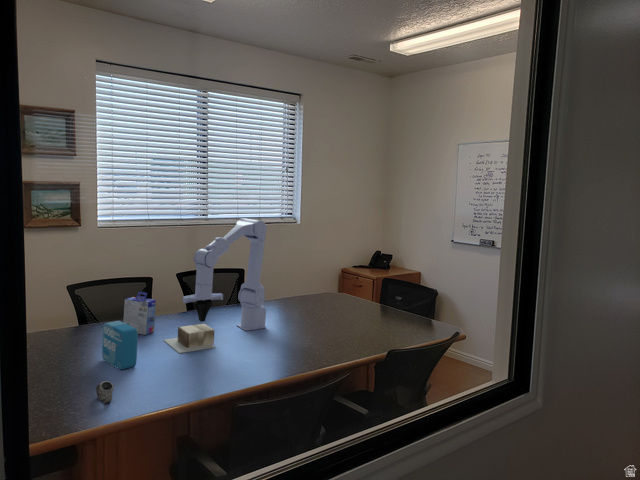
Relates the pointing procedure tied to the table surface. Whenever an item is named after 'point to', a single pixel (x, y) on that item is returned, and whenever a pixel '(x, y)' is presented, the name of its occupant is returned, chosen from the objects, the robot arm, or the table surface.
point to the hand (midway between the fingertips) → (201, 320)
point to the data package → (119, 344)
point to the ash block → (195, 335)
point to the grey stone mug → (105, 391)
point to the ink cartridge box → (140, 313)
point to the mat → (182, 348)
